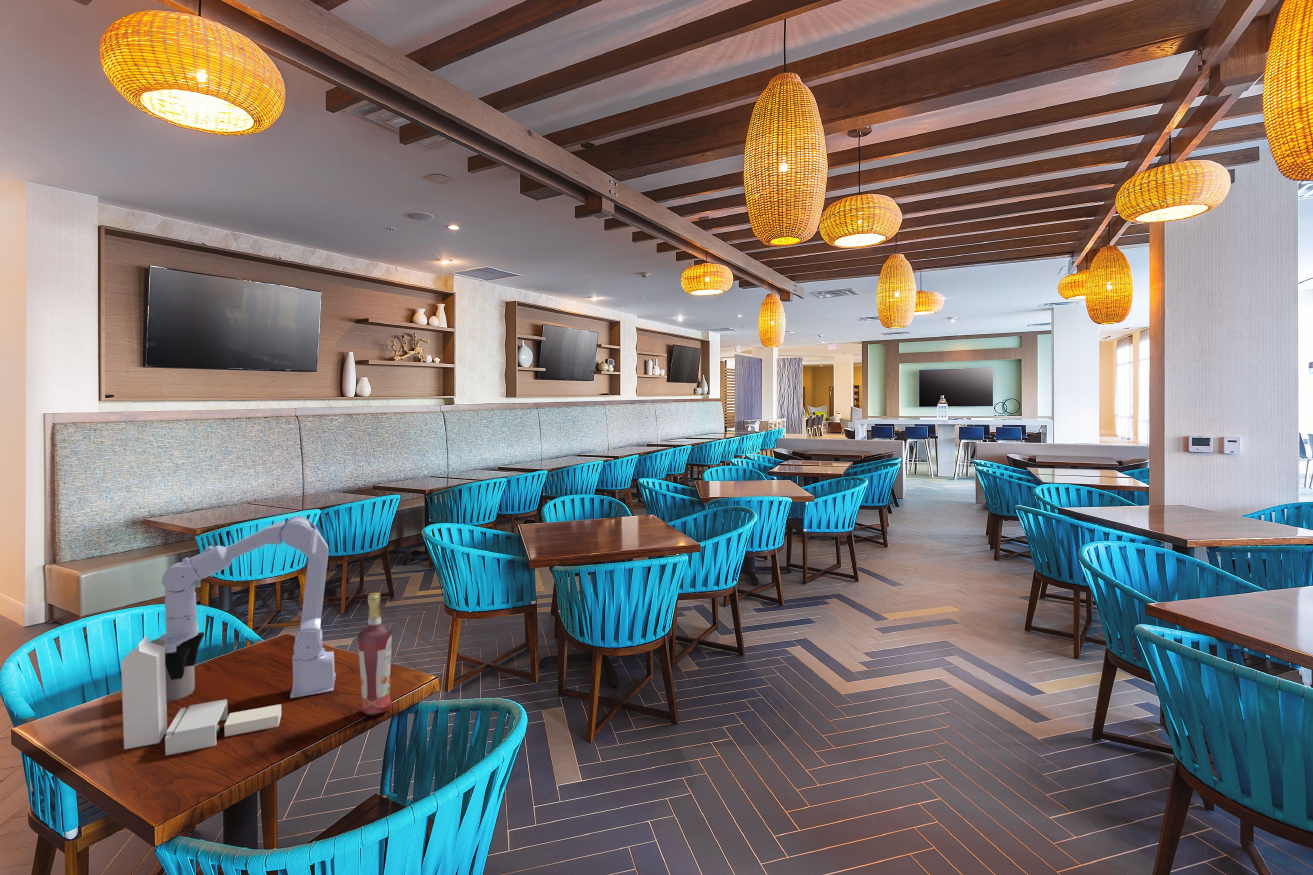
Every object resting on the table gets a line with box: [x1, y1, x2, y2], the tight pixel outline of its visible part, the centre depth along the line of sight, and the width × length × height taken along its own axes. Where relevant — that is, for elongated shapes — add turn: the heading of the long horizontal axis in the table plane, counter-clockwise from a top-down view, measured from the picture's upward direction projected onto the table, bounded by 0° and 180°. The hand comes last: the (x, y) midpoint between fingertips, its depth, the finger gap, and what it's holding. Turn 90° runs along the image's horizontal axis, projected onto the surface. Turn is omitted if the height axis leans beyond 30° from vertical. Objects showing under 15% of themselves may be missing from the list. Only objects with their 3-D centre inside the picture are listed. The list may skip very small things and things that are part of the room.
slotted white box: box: [164, 698, 229, 756], centre depth 133 cm, size 8×13×4 cm, turn 26°
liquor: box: [357, 592, 393, 717], centre depth 143 cm, size 7×7×28 cm
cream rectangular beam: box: [224, 703, 282, 738], centre depth 137 cm, size 10×6×2 cm, turn 116°
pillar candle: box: [149, 637, 196, 703], centre depth 152 cm, size 10×10×15 cm
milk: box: [120, 635, 168, 750], centre depth 131 cm, size 6×6×22 cm
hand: (183, 671), depth 143 cm, fingers open, 7 cm apart
